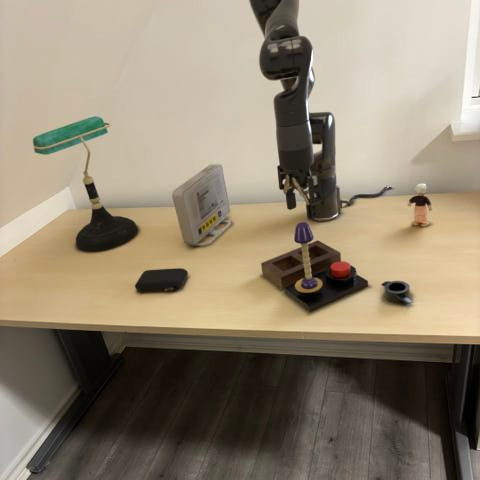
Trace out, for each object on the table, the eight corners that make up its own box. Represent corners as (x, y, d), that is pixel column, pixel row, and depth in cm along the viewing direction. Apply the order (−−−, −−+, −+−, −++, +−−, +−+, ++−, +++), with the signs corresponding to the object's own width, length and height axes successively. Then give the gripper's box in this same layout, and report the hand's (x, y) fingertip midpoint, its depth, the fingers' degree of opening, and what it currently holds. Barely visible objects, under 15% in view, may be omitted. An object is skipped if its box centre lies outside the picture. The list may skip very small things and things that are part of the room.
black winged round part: (412, 286, 126) (413, 276, 124) (414, 308, 118) (414, 298, 116) (380, 286, 128) (380, 276, 126) (380, 308, 120) (380, 298, 119)
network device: (217, 216, 183) (206, 162, 172) (238, 217, 179) (228, 162, 168) (180, 249, 165) (165, 191, 154) (202, 251, 161) (188, 192, 150)
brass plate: (312, 275, 131) (312, 274, 131) (328, 285, 126) (328, 284, 126) (289, 284, 129) (289, 284, 129) (304, 295, 124) (304, 294, 124)
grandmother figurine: (434, 222, 152) (436, 182, 145) (430, 227, 149) (433, 187, 142) (408, 220, 156) (409, 180, 149) (404, 225, 153) (405, 185, 146)
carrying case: (133, 296, 145) (180, 293, 141) (130, 287, 143) (178, 284, 140) (145, 277, 153) (190, 274, 150) (142, 268, 152) (188, 265, 148)
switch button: (342, 266, 133) (342, 259, 132) (354, 273, 129) (354, 266, 128) (327, 272, 132) (326, 266, 131) (338, 279, 128) (338, 273, 127)
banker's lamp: (120, 217, 198) (86, 112, 176) (154, 228, 183) (122, 115, 161) (61, 245, 184) (16, 135, 162) (93, 260, 170) (48, 140, 147)
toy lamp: (296, 287, 127) (289, 228, 117) (303, 278, 130) (296, 219, 121) (314, 290, 125) (308, 229, 115) (320, 280, 128) (315, 220, 118)
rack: (262, 275, 142) (260, 263, 140) (318, 252, 148) (317, 240, 146) (282, 290, 134) (280, 277, 132) (341, 265, 140) (340, 252, 138)
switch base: (339, 269, 138) (339, 258, 136) (368, 286, 129) (367, 274, 127) (284, 293, 133) (283, 281, 131) (310, 312, 124) (308, 300, 122)
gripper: (328, 144, 103) (333, 217, 112) (291, 133, 114) (298, 200, 123) (298, 154, 100) (305, 228, 110) (263, 142, 111) (272, 210, 121)
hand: (301, 213), depth 116 cm, fingers open, 8 cm apart
